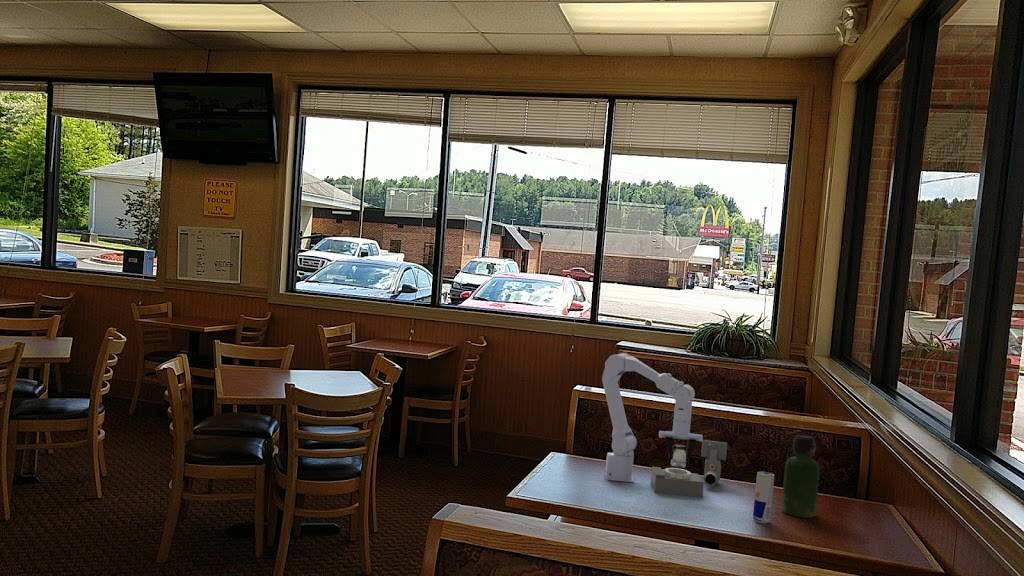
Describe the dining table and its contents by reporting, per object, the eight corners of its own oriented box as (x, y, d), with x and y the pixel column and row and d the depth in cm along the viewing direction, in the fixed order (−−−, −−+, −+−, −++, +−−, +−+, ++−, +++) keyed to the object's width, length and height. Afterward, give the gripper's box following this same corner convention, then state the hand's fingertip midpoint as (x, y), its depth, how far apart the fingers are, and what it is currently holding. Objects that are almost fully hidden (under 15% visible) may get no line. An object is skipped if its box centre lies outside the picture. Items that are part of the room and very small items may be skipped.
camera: (696, 486, 283) (700, 444, 283) (699, 479, 294) (702, 438, 294) (722, 490, 281) (726, 448, 280) (723, 482, 292) (727, 441, 292)
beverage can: (757, 517, 252) (762, 470, 251) (772, 522, 248) (777, 474, 248) (749, 520, 248) (754, 472, 248) (764, 525, 245) (769, 476, 244)
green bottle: (780, 514, 257) (787, 436, 257) (781, 506, 267) (788, 431, 266) (815, 520, 254) (822, 441, 253) (815, 512, 264) (822, 436, 263)
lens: (670, 466, 273) (672, 447, 273) (670, 462, 278) (672, 443, 278) (686, 468, 273) (687, 448, 272) (685, 464, 278) (687, 445, 277)
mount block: (654, 492, 271) (656, 473, 271) (650, 483, 282) (652, 465, 282) (702, 497, 270) (704, 477, 270) (696, 488, 281) (698, 469, 281)
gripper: (662, 420, 272) (658, 460, 272) (705, 424, 271) (701, 465, 271) (659, 416, 279) (656, 455, 279) (701, 420, 278) (698, 459, 278)
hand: (678, 460), depth 276 cm, fingers closed on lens, 5 cm apart
